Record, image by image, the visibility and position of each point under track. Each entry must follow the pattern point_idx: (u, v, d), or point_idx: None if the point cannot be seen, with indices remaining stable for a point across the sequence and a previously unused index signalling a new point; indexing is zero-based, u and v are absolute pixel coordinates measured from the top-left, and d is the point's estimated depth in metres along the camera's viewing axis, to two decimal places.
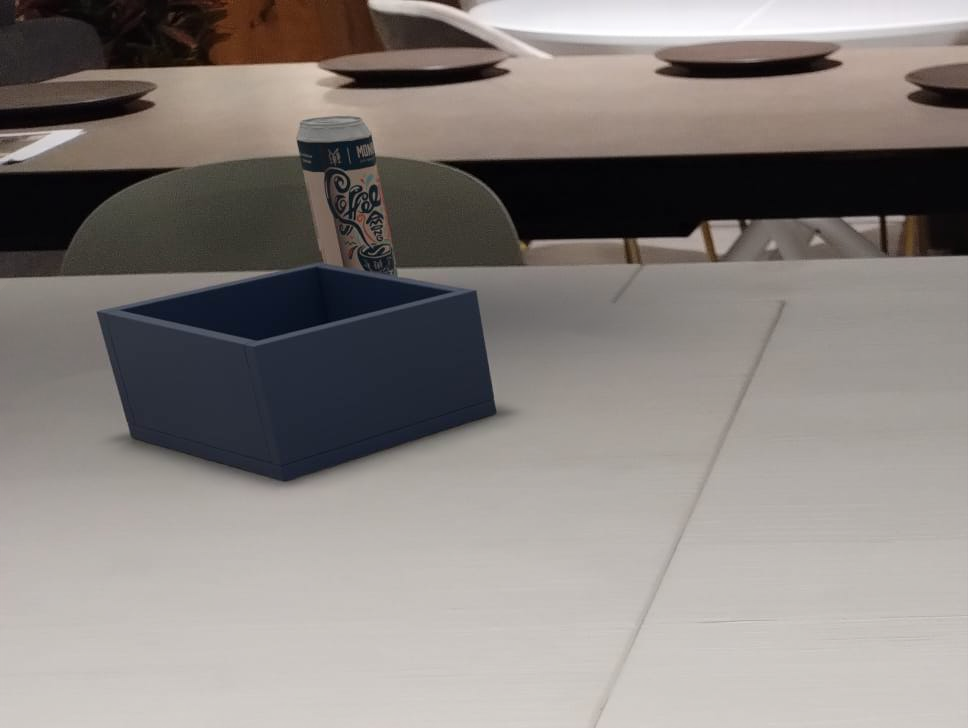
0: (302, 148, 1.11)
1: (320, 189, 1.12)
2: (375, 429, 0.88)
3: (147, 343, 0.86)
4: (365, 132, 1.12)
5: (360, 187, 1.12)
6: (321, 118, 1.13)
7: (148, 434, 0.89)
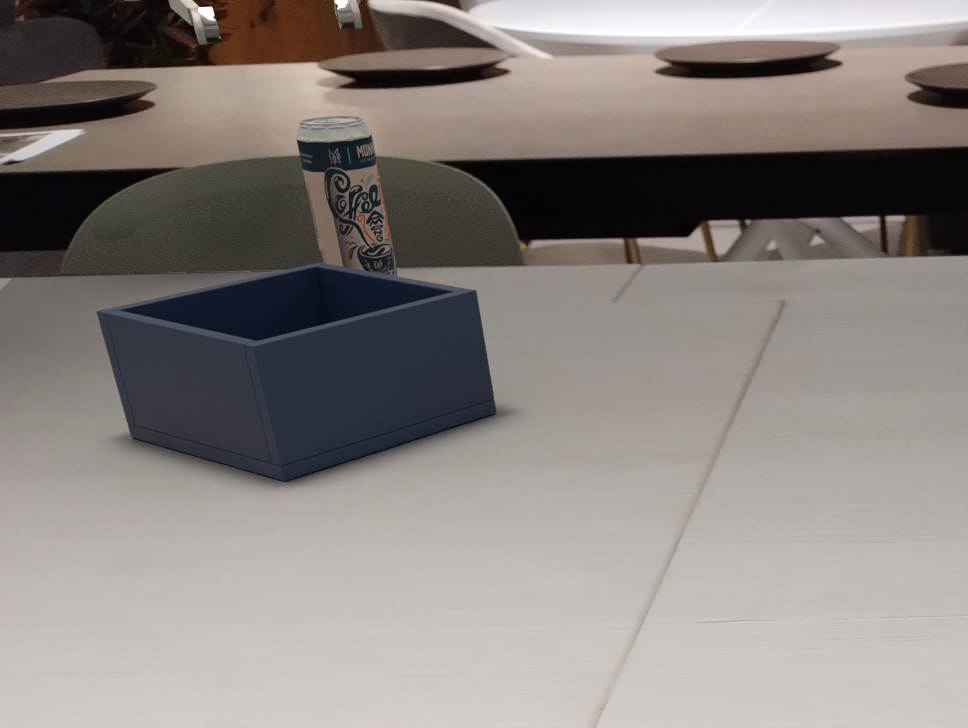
0: (302, 148, 1.11)
1: (320, 189, 1.12)
2: (375, 429, 0.88)
3: (147, 343, 0.86)
4: (365, 132, 1.12)
5: (360, 187, 1.12)
6: (321, 118, 1.13)
7: (148, 434, 0.89)
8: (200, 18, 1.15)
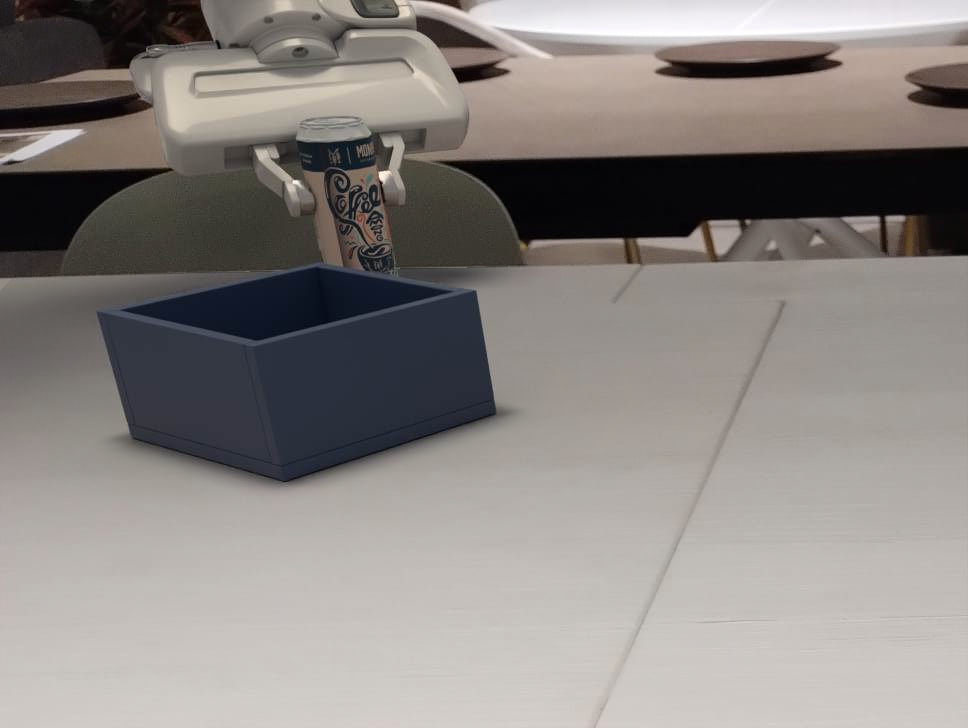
0: (302, 148, 1.11)
1: (320, 189, 1.12)
2: (375, 429, 0.88)
3: (147, 343, 0.86)
4: (365, 132, 1.12)
5: (360, 187, 1.12)
6: (321, 118, 1.13)
7: (148, 434, 0.89)
8: (296, 191, 1.12)
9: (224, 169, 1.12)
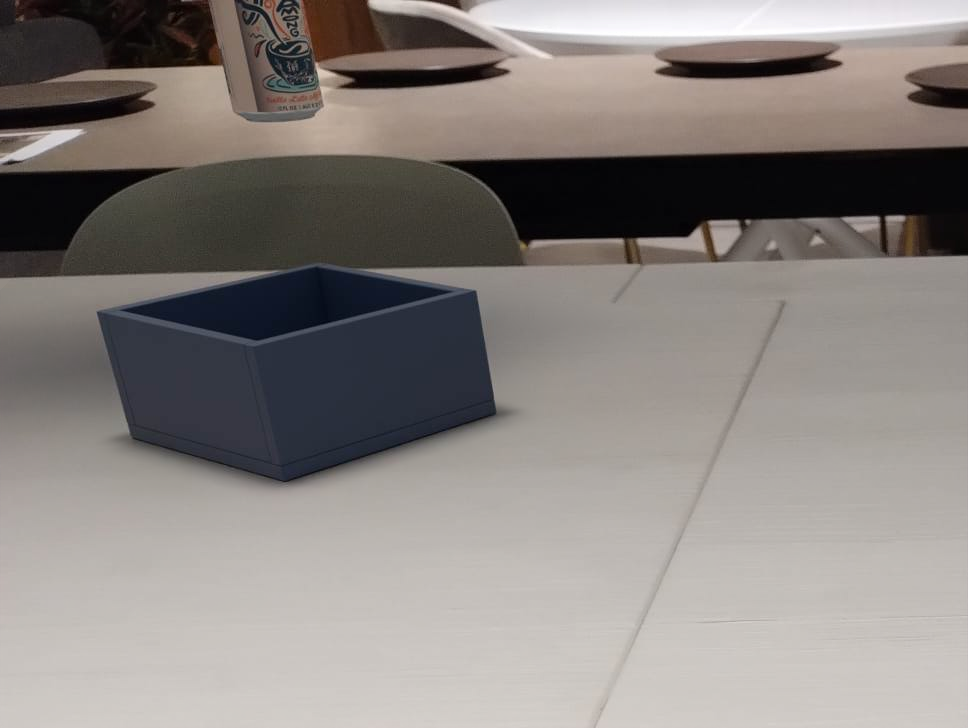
0: None
1: None
2: (375, 429, 0.88)
3: (147, 343, 0.86)
4: None
5: None
6: None
7: (148, 434, 0.89)
8: None
9: None
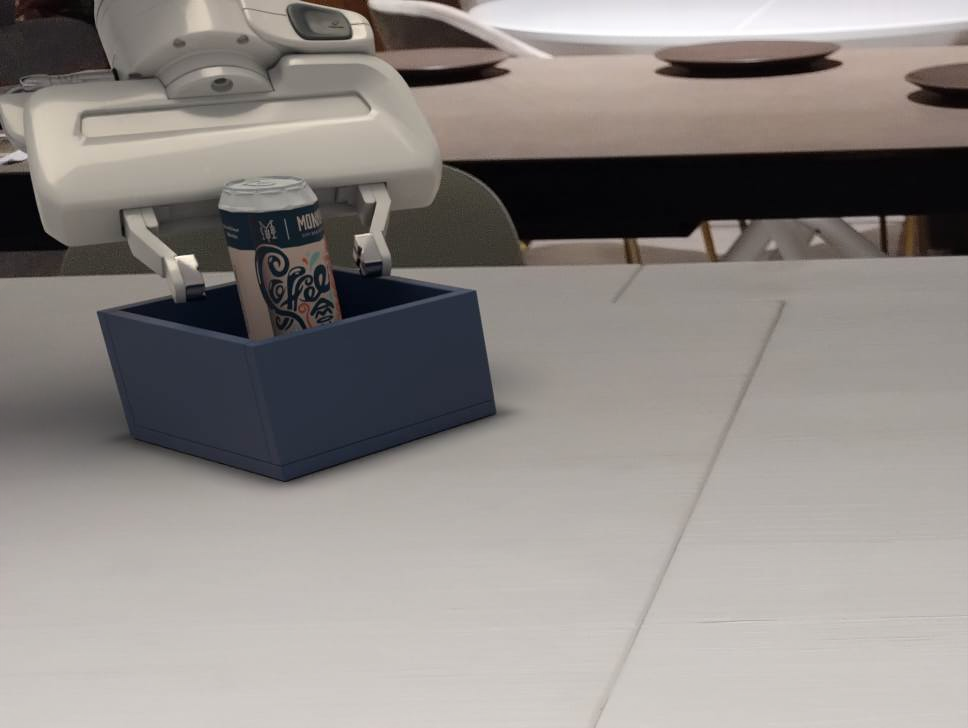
0: (226, 219, 0.85)
1: (249, 272, 0.86)
2: (375, 429, 0.88)
3: (147, 343, 0.86)
4: (308, 198, 0.86)
5: (302, 269, 0.87)
6: None
7: (148, 434, 0.89)
8: (179, 270, 0.85)
9: (121, 237, 0.86)
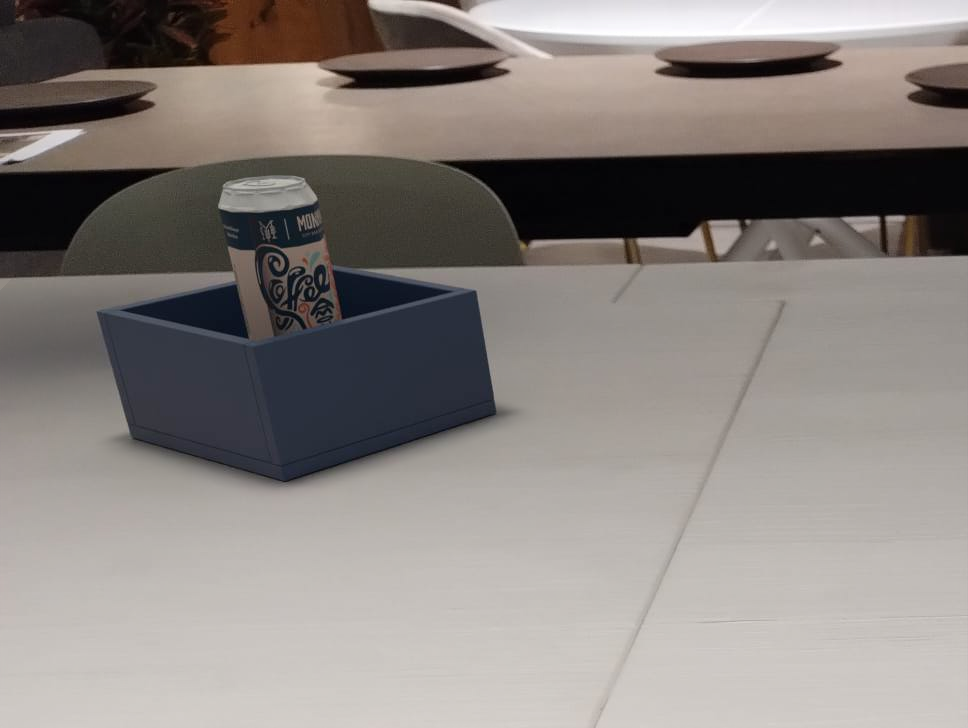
0: (226, 219, 0.85)
1: (249, 272, 0.86)
2: (375, 429, 0.88)
3: (147, 343, 0.86)
4: (308, 198, 0.86)
5: (302, 269, 0.87)
6: (252, 179, 0.87)
7: (148, 434, 0.89)
8: None
9: None
